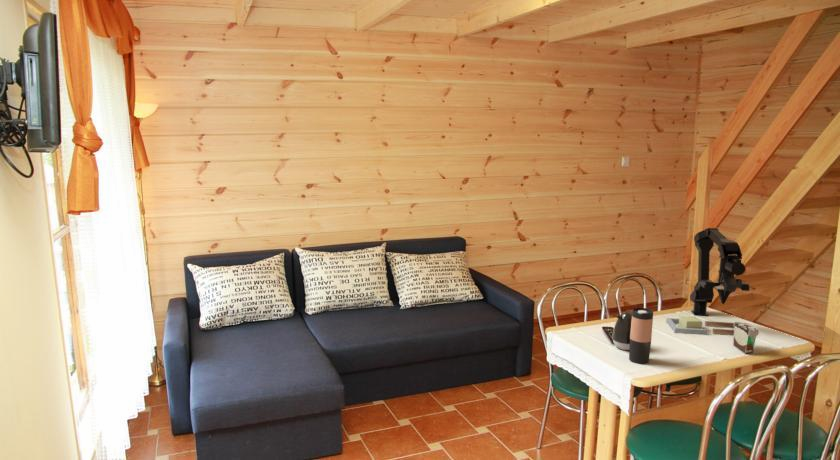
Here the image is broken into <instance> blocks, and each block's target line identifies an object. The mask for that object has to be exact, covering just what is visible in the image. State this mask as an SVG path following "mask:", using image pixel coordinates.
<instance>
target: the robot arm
mask: <svg viewBox="0 0 840 460" xmlns="http://www.w3.org/2000/svg"><path fill="white" fill-rule="evenodd" d="M693 241H694V246H695V248H696V250H697V251H698V261H697V262H698V263H697V264H698V269H697V271H698V272H697V282H696V283H695V285H694V287H693V291H692V293H690V294H689V300H690V301H691V302H692V303H693V309H692V310H691V309H690V312H691V313H692V314H693V315H694V316H706V317H707V316H708V317H709V316H710V315H709V313H708V312H707V308H708V304H711V303H712V302H713V299H714V298H715V297H714V296H715V293H714V290H716V291H717V293H718V296H719V299H720V303H721V305H725V304H726V302H727V300H728V298H729V297H730V295H731V294H732V293H734V292H736V291H737V289H740V290H741V291H742V292H743V291H746V292H749V291H750V289H751V286H750V285H749V283H747V282H746V281H743V280H742V279H741V278H736V277H735V276H742V275H743V274H744V273H745V271H746V266H745V265H744V263H743V262H742V259H743V254H742V250H741V247H740V245H739V243H738V242H737V241H735V240H731V239H729V238H727V237H726V236H725V235H724V234H723V233H721V232H720V231H719V229H718V228H717V227H707V228H705V229H703V230H700V231H699V232H697V233H696V234H695V235H694V236H693ZM714 245H716V246H717V251H718V253H719V254H720V255H719V256H718V257H719V258H720V261H719V269H718V271H717V272H718V278H717V282H715V281H713V280H712V279H710V257H711V255H710V252H711V251H712V250H713V247H714Z"/></svg>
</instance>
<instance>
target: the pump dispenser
mask: <svg viewBox="0 0 840 460" xmlns="http://www.w3.org/2000/svg"><path fill="white" fill-rule="evenodd" d="M615 317H616V318H617V319H616V321H615V324H614V327H613V330H612V335H611V339H612V341H613V344H614V346H615V347H617V348H618V349H620V350H623V351H629V348H630V332H631V320H632V312H629V311H623V312H622V313H621V314H620V315H619V314H616V316H615Z"/></svg>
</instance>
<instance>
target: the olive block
mask: <svg viewBox="0 0 840 460" xmlns="http://www.w3.org/2000/svg"><path fill="white" fill-rule="evenodd" d="M678 319H679V324H678V326H677V327H679V328H695V329H703V320H701V319H699V318H697V316H696V315H694V316H691V315H690V316H688V315H687V316H686V315H685V316H679V318H678Z"/></svg>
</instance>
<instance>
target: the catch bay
mask: <svg viewBox="0 0 840 460" xmlns="http://www.w3.org/2000/svg"><path fill="white" fill-rule="evenodd" d="M665 323H666V324H667V325H668V326H669V327H670V329H671V330H672V331H673V332H674V333H675V334H689V335H690V334H691V335H703V336H704V335H707V336H708V335H709V334H708V331H709V330H708V328H702V329H695V328H680V327H678V326H677V324H678V325H679V318H676V317H675V318H674V317H666V319H665Z"/></svg>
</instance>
